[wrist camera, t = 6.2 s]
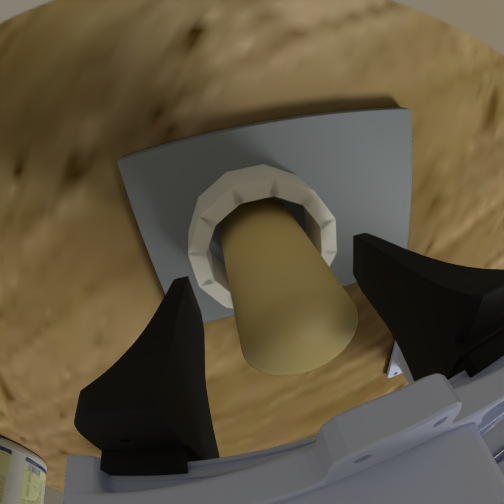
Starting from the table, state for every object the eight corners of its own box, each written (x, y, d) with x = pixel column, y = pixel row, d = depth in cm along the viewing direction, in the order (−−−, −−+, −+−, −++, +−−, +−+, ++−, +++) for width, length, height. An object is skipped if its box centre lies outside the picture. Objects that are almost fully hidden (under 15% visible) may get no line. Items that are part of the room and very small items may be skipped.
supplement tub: (-13, 443, 29) (-25, 516, 14) (-15, 424, 25) (-33, 513, 11) (43, 470, 34) (38, 543, 19) (52, 458, 30) (46, 547, 16)
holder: (400, 107, 15) (438, 115, 12) (397, 260, 21) (423, 287, 18) (121, 157, 14) (102, 174, 11) (180, 317, 20) (180, 356, 17)
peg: (289, 188, 15) (362, 273, 9) (295, 253, 18) (353, 357, 11) (212, 204, 15) (229, 307, 8) (227, 269, 17) (252, 385, 10)
